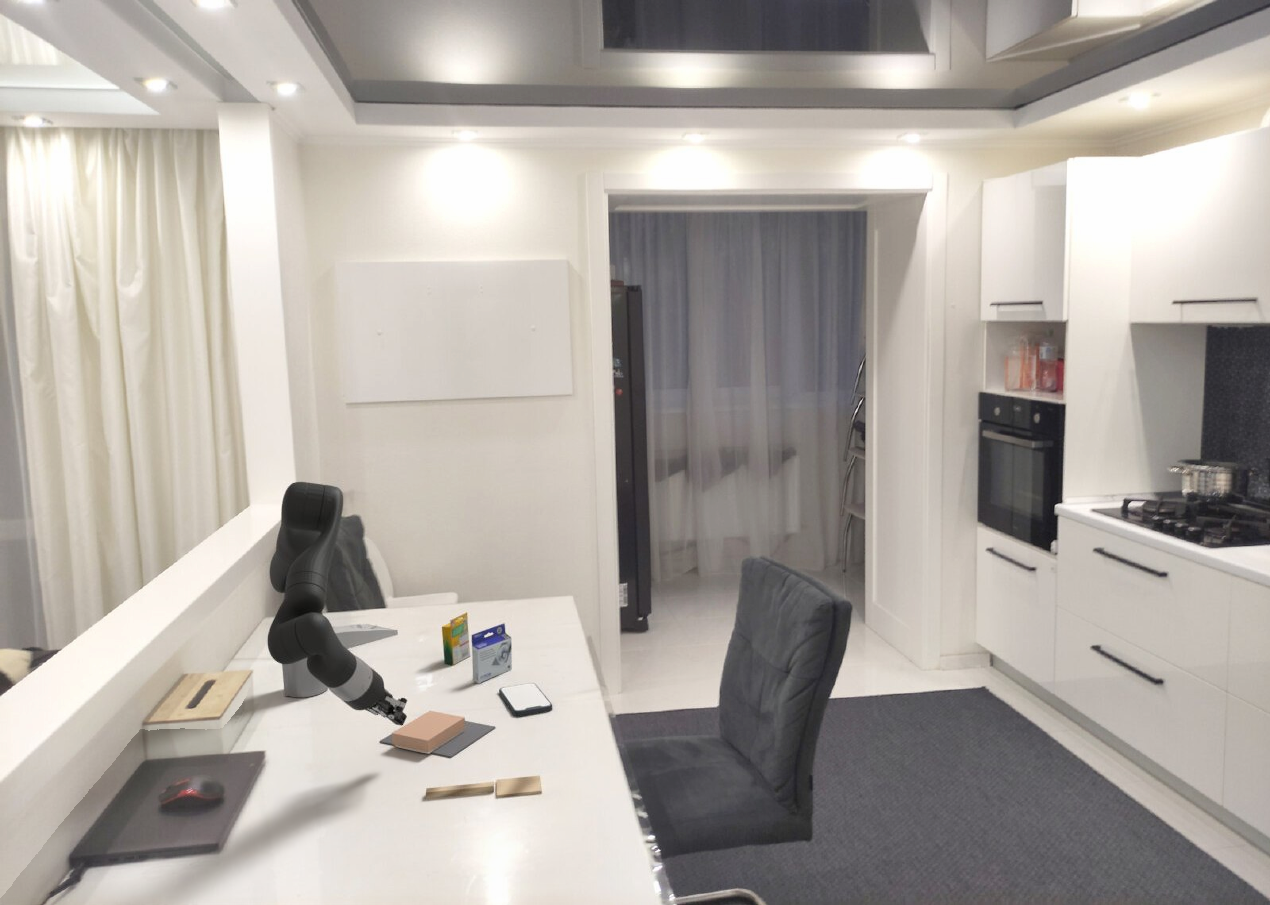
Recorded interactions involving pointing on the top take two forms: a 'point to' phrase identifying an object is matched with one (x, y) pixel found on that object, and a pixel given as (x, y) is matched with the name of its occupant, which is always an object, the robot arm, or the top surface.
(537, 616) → the top surface
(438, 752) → the mat
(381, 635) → the ramp
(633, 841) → the top surface
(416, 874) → the top surface
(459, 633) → the crayon box
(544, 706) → the phone case
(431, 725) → the tile
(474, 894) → the top surface
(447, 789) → the turner
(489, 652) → the ink box
